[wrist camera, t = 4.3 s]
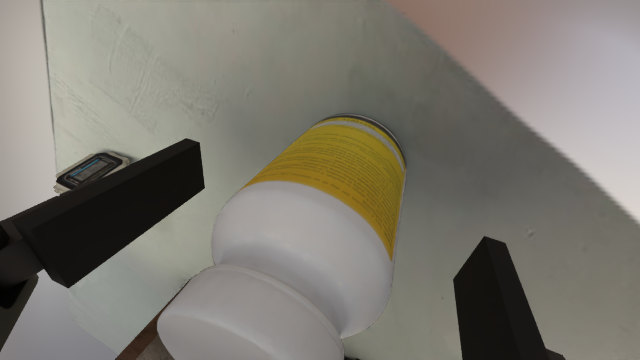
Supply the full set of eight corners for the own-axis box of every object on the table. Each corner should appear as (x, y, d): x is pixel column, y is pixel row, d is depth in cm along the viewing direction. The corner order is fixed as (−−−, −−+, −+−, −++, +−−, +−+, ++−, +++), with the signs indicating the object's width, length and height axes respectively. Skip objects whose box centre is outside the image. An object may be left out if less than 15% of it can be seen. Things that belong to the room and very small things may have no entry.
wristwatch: (159, 164, 22) (98, 195, 18) (176, 221, 25) (127, 258, 21) (82, 142, 24) (12, 165, 20) (107, 197, 27) (51, 226, 23)
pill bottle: (315, 93, 14) (92, 226, 5) (429, 136, 13) (436, 410, 4) (293, 185, 18) (144, 362, 8) (381, 224, 17) (324, 472, 7)
